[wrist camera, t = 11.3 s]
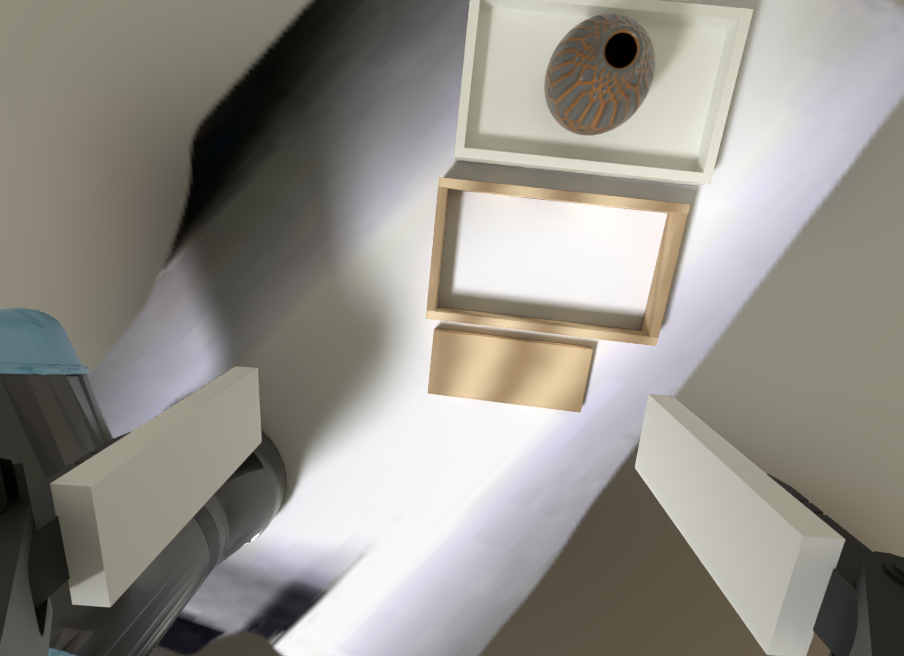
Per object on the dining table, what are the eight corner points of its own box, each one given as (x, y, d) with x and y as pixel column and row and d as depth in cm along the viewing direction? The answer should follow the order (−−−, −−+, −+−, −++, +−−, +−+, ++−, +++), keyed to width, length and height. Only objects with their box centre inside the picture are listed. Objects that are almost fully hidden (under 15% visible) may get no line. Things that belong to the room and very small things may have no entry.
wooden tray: (428, 313, 38) (425, 318, 36) (441, 179, 35) (439, 177, 33) (647, 339, 37) (656, 345, 35) (678, 205, 35) (690, 204, 33)
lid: (428, 389, 40) (427, 393, 39) (434, 328, 38) (433, 330, 38) (578, 408, 39) (580, 412, 39) (590, 347, 38) (593, 349, 37)
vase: (638, 45, 31) (697, -20, 23) (622, 145, 33) (672, 120, 25) (544, 40, 32) (568, -26, 23) (533, 140, 33) (552, 113, 25)
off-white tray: (455, 160, 35) (453, 156, 33) (472, -2, 32) (471, -18, 30) (695, 185, 34) (710, 183, 32) (735, 23, 31) (753, 9, 29)
